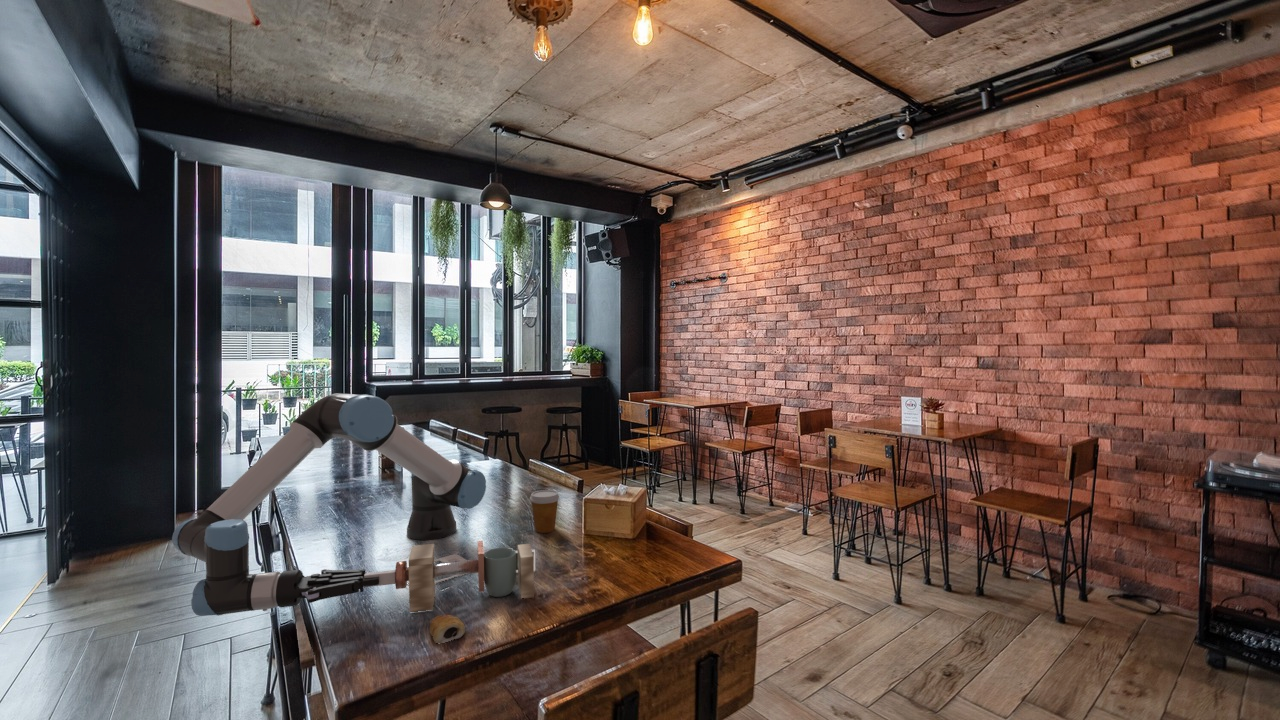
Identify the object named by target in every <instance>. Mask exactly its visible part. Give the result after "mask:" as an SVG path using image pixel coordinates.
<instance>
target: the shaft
mask: <svg viewBox="0 0 1280 720" xmlns="http://www.w3.org/2000/svg"><path fill="white" fill-rule="evenodd" d="M483 541H484V540H477V559H468V561H459V562H450V563H434V564H433V578H442V577H444V578H445V577H451V576H454V575H461V574H466V575H469V574H476V573H477V579H478V593H480V592H481V593H483V592H485V583H484V553H485V552H484V551H485V550H484V542H483ZM394 570H395V584H394V586H395V589H396V590H399V589H406V588H407V581H409V566H408V562H407V560H400V561H396V563H395V569H394Z"/></svg>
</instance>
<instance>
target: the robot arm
mask: <svg viewBox="0 0 1280 720" xmlns="http://www.w3.org/2000/svg"><path fill="white" fill-rule="evenodd" d="M289 428H290V429H289V430H288V431H287V433H285V434H284V435H283V436H282V437H281V438H280V439H279V440H278V441H277V442H276V443H275V444H274V445H273V446H271V447H270V449H269V450H267V451H266V452H265V453H264V454H263V455H262V456H261V457H260V458H259V459H258V460H257V461H256V462H254V464H252V466H250V468H248V470H246V471H245V472H244V473H243V474H242V475H241V476H240V477H238V479H237V480H236V481H235V482H233V483H232V485H230V486H229V488H227V489H226V490H225V491H224V492H223V493H221V495H220V496H219V497H217V499H216V500H214V502H213V503H212V504H211V505H209V506H208V507H207V508H206V509H205V510H204V511H203V512H202V513H201V514H200V515H199V516H198V517H197V518H191V519H187V520H185V521H183V522H181V523H180V524H179V525H178V526H177V527H176V528H175V529H174V530H173V534H172V537H171V541H172V545H173V547H174V548H175V549H176V550H177V551H180V552H181V554H183V555H184V556H185V555H186V556H189V557H192V558H195V559H197V560H199V561H202V562H204V563H205V569H206V570H205V572H206V574H205V579H204V578H203V579H200V580H198V582H197V583H196V584H195V586H194V588H193V591H192V597H191V600H190V601H191V602H190V603H191V604H190V605H191V610H192V612H193V613H194V615H196V616H199V617H206V616H223V615H228V614H235V613H236V614H238V613H243V612H244V613H245V612H250V611H251V612H254V611H260V610H261V611H263V612H265V611H268V610H269V609H276V608H277V607H279V608H288V607H296V606H298V605H300V602H301V601H302V599H307V603H309V604H310V603H311V604H312V603H314V602H317V601H320V600H321V601H322V600H326V599H332V598H336V597H340V596H345V595H346V596H347V595H351V594H355V593H358V592H359V593H363V592H364V588H371V587H379V586H381V587H382V586H387V585H395V569H393V570H382V571H372V572H366V569H365V568H362V569H327V568H326V569H325V568H324V569H321V571H320V572H321V573H313V574H311V575H307V576H305V575H304V574H303V571H302V570H301V569H292V570H283V571H282V572H280V571H271V572H263V573H262V572H261V573H254V574H251V573H250V566H249V563H250V561H249V558H250V557H249V555H250V554H249V551H250V549H249V544H250V543H249V541H250V534H249V527H248V523H247V521H246V520H245V519H246V518H247V517H248V516H249V515H250V514H251V513H252V512H253V511H254V510H255V508H257V507H258V506H259V505H260V504H261V503H262V502H263V501H264V500H265V499H266V498H267V496H269V495H270V494H271V492H273V491H274V490H275V488H277V487H278V485H280V484H281V482H283V481H284V479H286V478H287V477H288V476H289V475H290V474H291V473H292V472H293V471H294V470H295V469H296V468H297V467H298V466H299V465H300V464H301V463H302V462H303V461H304V460H305V459H306V458H307V456H308V455H310V454H311V453H312V452H313V451H314V450H315V449H321V448H323V446H325V445H326V444H327V443H328V442H329V441H331V440H332V439H335V438H339V439H345V440H348V441H350V442H351V443H353V444H354V445H356V446H358V447H359V448H361V449H363V450H364V451H367V452H372V451H373V452H374V451H377V453H378V452H379V453H380V454H381V455H383V456H385V457H386V458H388V459H389V460H391V461H392V462H393V463H396V464H397V465H398V466H400V467H401V468H403V469H404V470H407V471H408V472H409V473H411V476H410V478H411V504H412V509H411V514H410V517H409V521H408V524H407V527H406V536H407V537H408V538H410V539H412V540H418V541H419V540H420V541H425V540H428V541H429V540H436V539H441V538H442V539H443V538H446V537H448V536H450V535H451V536H452V535H453V534H454V533H456V532H457V521H456V519H455V515H454V513H453V510H452V508H451V507H457V508H460V509H463V510H464V509H469V510H470V509H474V508H475V507H476V506H478V505H479V504H480V503H481V502H482V500H483V499H484V496H485V493H486V491H487V485H486V484H487V479H486V476H485V475H484V473H483V472H482V471H480V470H477V469H470V468H468V467H467V466H466V465H464V464H462V463H461V462H460V461H458V460H456V459H447V458H445V457H444V456H442V455H441V454H440V453H438V452H437V451H436V450H435V449H433V448H432V447H430V446H429V445H427V444H426V443H425V442H423V441H421V440H420V439H419V438H417V437H416V436H415V435H414V434H412V433H410V432H409V431H408V430H407V429H405V428H404V427H403V426H401V425H400V424H398V417H397V415H395V414H394V413H393V408H392V407H391V405H390V404H389V403H388V402H387V401H386V400H385V399H382V398H381V397H379V396H375V395H372V394H366V393H365V394H364V393H363V394H353V393H344V392H343V393H341V392H338V393H332V394H328V395H326V396H324V397H322V398H320V399H318V400H317V401H316V402H314V403H312V405H310V406H309V407H308V408H307V409H305V410H304V411H303V412H302V413H301V414H300V415H298V416H297V417H296V418H295V419H294V420H293V421H292V422H291V423H290V425H289Z"/></svg>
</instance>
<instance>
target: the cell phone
mask: <svg viewBox="0 0 1280 720" xmlns="http://www.w3.org/2000/svg"><path fill="white" fill-rule="evenodd" d="M531 550H532V553H533V556H534V573H535V572H536V549H531ZM515 552H516V574H518V550H515Z"/></svg>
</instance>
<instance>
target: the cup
mask: <svg viewBox="0 0 1280 720" xmlns="http://www.w3.org/2000/svg"><path fill="white" fill-rule="evenodd" d="M515 551H516V550H515V549H513V548H511V547H496V548H491V549H488V550H487V551H485V552H484V589H485V590H486V593H488V595H489V596H491V597H493V598H500V597H505V596H508V595H509V594H511V593H512V592H513V590H514V589H515V586H516V580H517V573H516V552H515Z"/></svg>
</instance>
